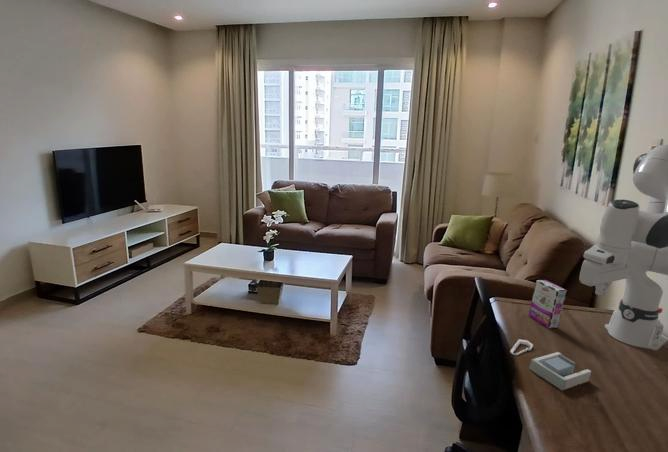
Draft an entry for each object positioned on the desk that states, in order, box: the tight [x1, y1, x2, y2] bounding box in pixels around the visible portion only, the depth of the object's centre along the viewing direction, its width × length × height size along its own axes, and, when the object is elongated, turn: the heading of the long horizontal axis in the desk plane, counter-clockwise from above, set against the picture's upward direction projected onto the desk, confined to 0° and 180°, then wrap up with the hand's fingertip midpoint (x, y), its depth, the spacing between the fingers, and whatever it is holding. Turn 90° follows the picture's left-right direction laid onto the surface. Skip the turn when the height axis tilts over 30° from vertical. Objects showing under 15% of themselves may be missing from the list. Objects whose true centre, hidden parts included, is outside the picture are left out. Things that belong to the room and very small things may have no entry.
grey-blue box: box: [543, 353, 576, 377], centre depth 127 cm, size 8×5×6 cm, turn 116°
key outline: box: [509, 338, 534, 356], centre depth 142 cm, size 13×5×2 cm, turn 140°
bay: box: [529, 351, 592, 391], centre depth 128 cm, size 13×11×4 cm
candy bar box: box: [528, 279, 568, 329], centre depth 162 cm, size 11×5×16 cm, turn 17°
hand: (600, 294), depth 127 cm, fingers closed
